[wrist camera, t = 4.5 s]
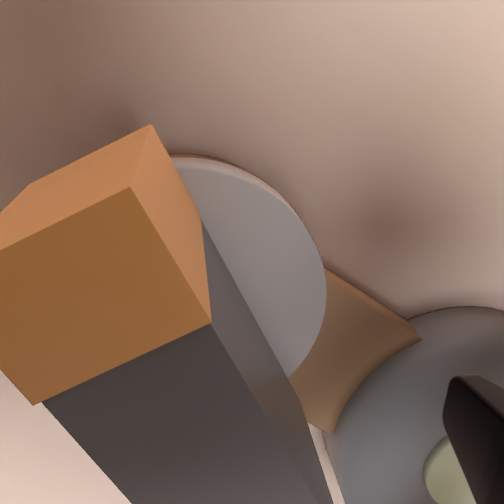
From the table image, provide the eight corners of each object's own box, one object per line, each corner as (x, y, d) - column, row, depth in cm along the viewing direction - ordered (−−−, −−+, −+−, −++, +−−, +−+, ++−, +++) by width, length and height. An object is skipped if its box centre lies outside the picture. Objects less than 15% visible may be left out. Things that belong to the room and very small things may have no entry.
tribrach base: (852, 202, 15) (973, 233, 13) (590, 615, 23) (634, 677, 21) (60, 144, 11) (28, 172, 9) (89, 663, 19) (77, 746, 17)
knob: (357, 346, 13) (453, 517, 8) (148, 441, 13) (130, 654, 9) (237, 73, 10) (287, 109, 5) (-36, 209, 10) (-217, 356, 6)
